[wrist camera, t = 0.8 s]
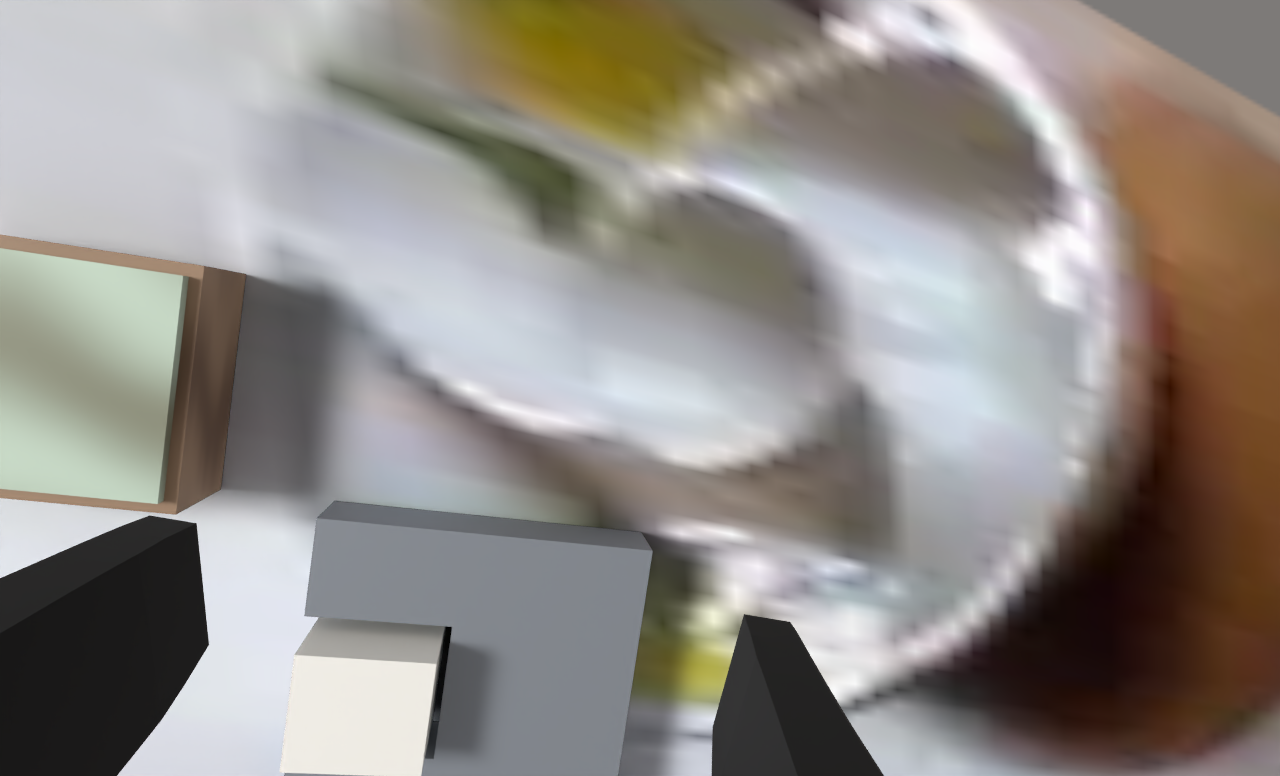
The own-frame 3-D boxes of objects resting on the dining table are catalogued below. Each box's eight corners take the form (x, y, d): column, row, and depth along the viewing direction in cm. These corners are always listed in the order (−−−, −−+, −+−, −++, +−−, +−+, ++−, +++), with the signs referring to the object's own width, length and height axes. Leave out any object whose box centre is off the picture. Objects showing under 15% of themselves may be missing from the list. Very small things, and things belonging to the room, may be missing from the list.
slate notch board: (641, 532, 29) (652, 550, 27) (598, 809, 30) (606, 852, 28) (334, 501, 27) (316, 518, 25) (296, 801, 28) (275, 847, 26)
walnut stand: (220, 489, 27) (170, 517, 23) (-27, 464, 25) (-127, 489, 21) (245, 274, 26) (198, 265, 22) (-5, 235, 25) (-104, 218, 21)
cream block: (448, 611, 28) (436, 663, 24) (434, 708, 29) (420, 777, 24) (329, 602, 28) (294, 654, 23) (316, 701, 28) (279, 772, 23)
